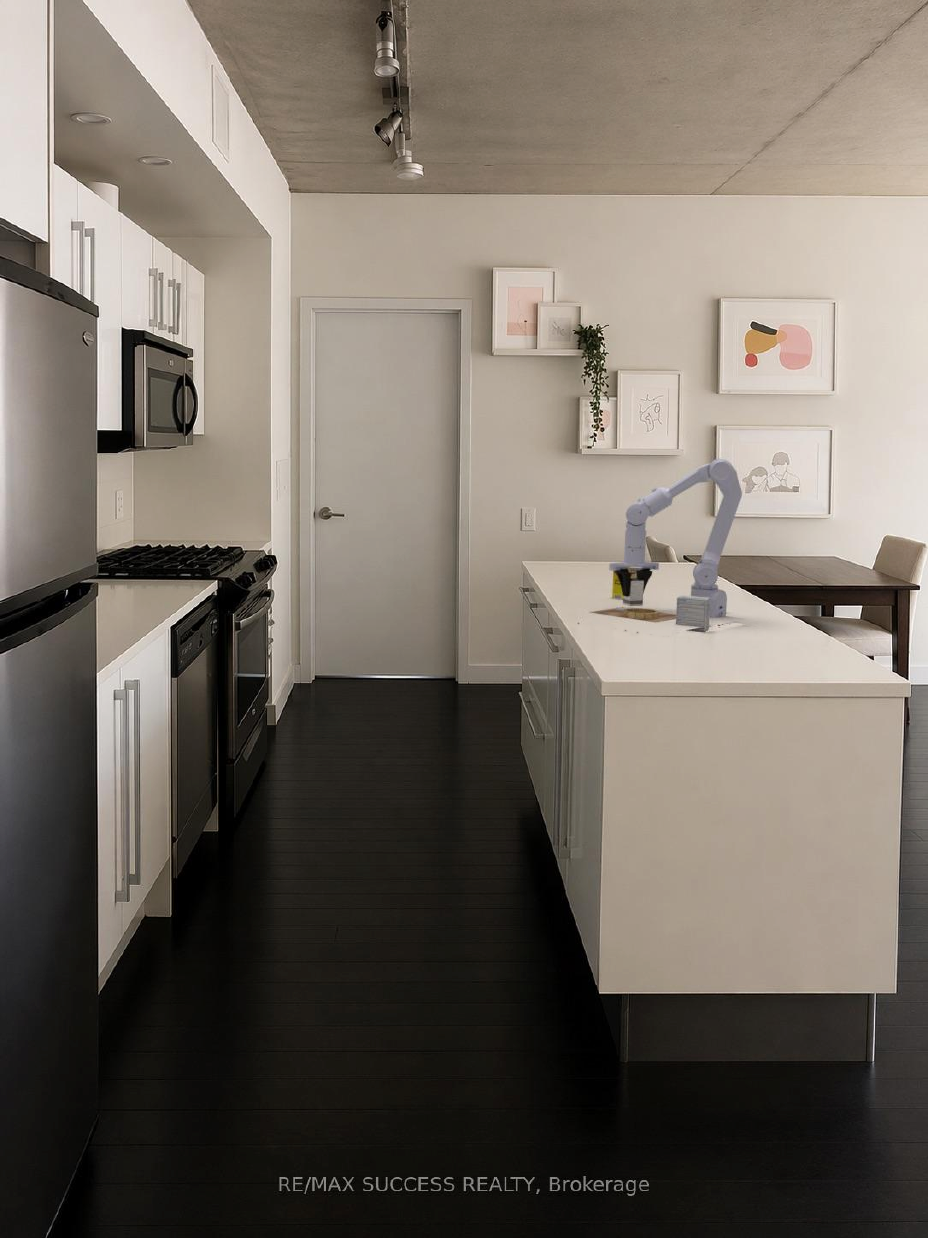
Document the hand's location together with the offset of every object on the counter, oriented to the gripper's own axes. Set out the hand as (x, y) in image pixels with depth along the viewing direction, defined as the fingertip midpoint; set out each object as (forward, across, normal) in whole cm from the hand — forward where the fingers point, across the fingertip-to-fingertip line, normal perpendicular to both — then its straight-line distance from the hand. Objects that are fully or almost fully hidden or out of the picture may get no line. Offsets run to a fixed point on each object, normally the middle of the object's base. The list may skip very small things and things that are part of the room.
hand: (632, 595), depth 316 cm
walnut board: (+6, -2, -6) cm, 9 cm away
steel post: (+2, 0, 0) cm, 3 cm away
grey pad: (+4, 0, 0) cm, 4 cm away
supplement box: (+6, +10, +23) cm, 26 cm away
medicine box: (+6, +4, -25) cm, 26 cm away
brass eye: (+4, -3, -10) cm, 11 cm away
